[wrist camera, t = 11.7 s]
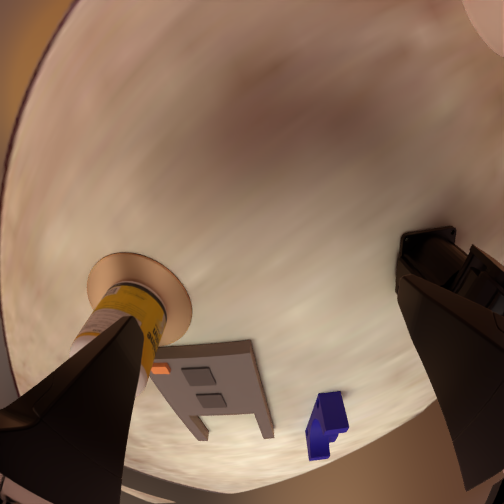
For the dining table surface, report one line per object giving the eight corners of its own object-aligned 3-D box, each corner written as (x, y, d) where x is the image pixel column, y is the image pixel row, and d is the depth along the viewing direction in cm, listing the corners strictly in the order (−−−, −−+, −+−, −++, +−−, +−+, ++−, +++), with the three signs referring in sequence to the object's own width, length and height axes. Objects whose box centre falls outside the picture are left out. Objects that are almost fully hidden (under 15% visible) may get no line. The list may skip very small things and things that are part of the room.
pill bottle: (147, 340, 26) (115, 435, 16) (97, 303, 24) (45, 391, 14) (182, 308, 24) (152, 419, 14) (126, 263, 22) (62, 362, 12)
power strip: (250, 339, 26) (250, 357, 24) (273, 428, 36) (274, 441, 34) (142, 347, 27) (137, 363, 25) (199, 431, 37) (197, 443, 35)
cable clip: (331, 427, 37) (337, 457, 32) (305, 430, 37) (309, 460, 32) (350, 388, 32) (360, 425, 26) (318, 392, 32) (325, 430, 26)
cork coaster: (170, 243, 22) (169, 245, 21) (205, 340, 27) (204, 343, 26) (72, 261, 22) (70, 263, 22) (116, 344, 27) (114, 347, 27)
